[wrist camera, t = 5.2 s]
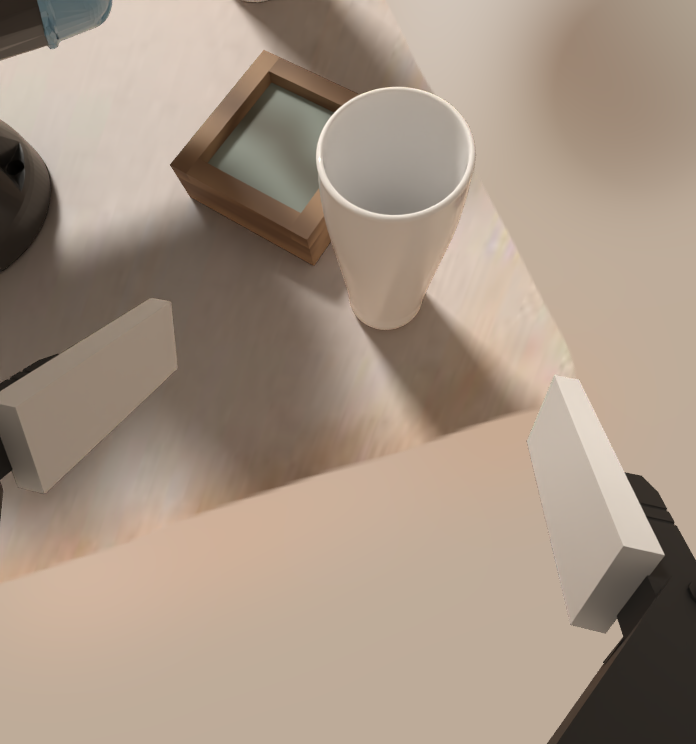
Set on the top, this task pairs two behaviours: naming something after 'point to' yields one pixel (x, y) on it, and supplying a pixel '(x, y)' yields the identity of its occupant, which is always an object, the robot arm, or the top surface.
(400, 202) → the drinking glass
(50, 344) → the top surface
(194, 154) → the wooden tray
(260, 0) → the cylindrical container
